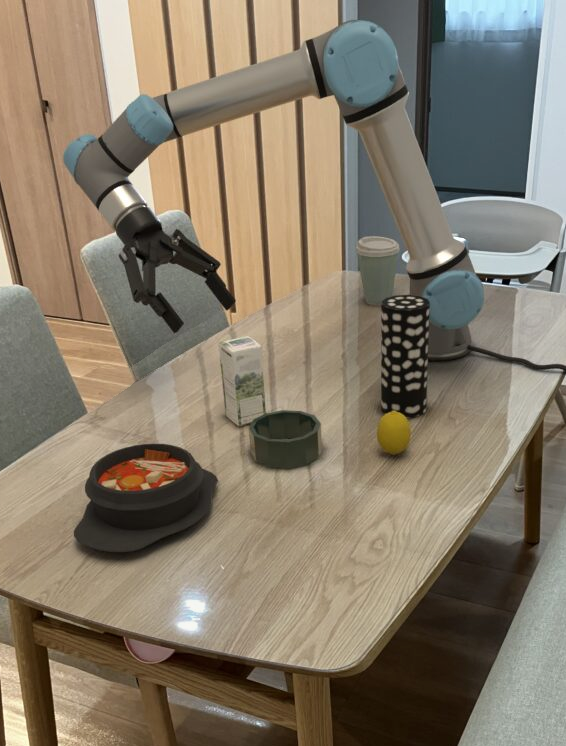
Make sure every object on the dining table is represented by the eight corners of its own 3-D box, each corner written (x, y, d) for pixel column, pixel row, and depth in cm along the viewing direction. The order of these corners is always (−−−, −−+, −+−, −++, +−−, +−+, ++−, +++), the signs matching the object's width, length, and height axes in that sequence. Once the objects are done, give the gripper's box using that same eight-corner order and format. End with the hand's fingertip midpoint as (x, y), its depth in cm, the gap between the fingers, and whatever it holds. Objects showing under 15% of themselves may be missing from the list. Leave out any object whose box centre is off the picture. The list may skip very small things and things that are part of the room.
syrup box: (253, 408, 154) (246, 334, 147) (267, 420, 150) (261, 344, 142) (225, 416, 152) (217, 340, 144) (239, 428, 148) (231, 351, 140)
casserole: (148, 466, 136) (141, 420, 132) (246, 488, 130) (242, 440, 125) (45, 546, 117) (31, 495, 113) (153, 576, 110) (144, 523, 106)
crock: (326, 438, 143) (325, 411, 141) (314, 470, 134) (312, 443, 131) (261, 434, 145) (259, 408, 142) (244, 466, 135) (241, 439, 133)
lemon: (387, 465, 134) (388, 421, 130) (371, 452, 139) (370, 408, 134) (416, 457, 136) (417, 413, 132) (399, 444, 141) (399, 401, 136)
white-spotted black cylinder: (432, 403, 154) (436, 297, 143) (417, 421, 148) (420, 312, 137) (390, 396, 157) (391, 292, 147) (374, 414, 151) (373, 307, 140)
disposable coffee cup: (405, 297, 207) (406, 236, 199) (390, 311, 199) (390, 247, 191) (366, 293, 211) (365, 233, 203) (349, 306, 203) (348, 244, 195)
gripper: (172, 218, 156) (241, 308, 156) (68, 249, 138) (146, 351, 139) (189, 191, 150) (261, 285, 151) (84, 220, 133) (164, 325, 134)
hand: (206, 316), depth 145 cm, fingers open, 13 cm apart
